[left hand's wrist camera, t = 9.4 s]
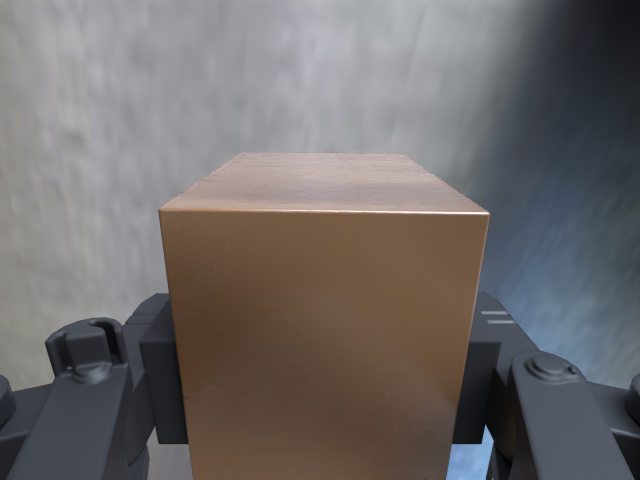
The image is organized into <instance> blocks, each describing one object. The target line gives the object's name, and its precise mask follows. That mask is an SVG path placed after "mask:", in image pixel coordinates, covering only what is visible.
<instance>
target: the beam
mask: <svg viewBox="0 0 640 480" xmlns="http://www.w3.org/2000/svg"><path fill="white" fill-rule="evenodd" d="M158 212H159V220H160V227H161V235H162V243H163V250H164V258H165V266H166V273H167V281H168V289H169V296H170V304H171V312H172V319H173V327H174V335H175V342H176V350H177V358H178V365H179V373H180V381H181V388H182V396H183V404H184V411H185V419H186V427H187V434H188V442H189V450H190V457H191V465H192V473H193V480H446V475H447V469H448V463H449V457H450V452H451V446H452V440H453V434H454V428H455V422H456V416H457V410H458V404H459V398H460V392H461V386H462V380H463V374H464V368H465V362H466V356H467V350H468V344H469V338H470V332H471V326H472V320H473V314H474V308H475V302H476V296H477V290H478V284H479V278H480V272H481V266H482V260H483V254H484V248H485V243H486V237H487V231H488V225H489V219H490V213H489V212H488V211H487V210H485V209H484V208H482V207H481V206H479V205H478V204H476V203H475V202H473V201H472V200H470V199H469V198H467V197H466V196H464V195H463V194H461V193H460V192H458V191H457V190H455V189H454V188H452V187H451V186H449V185H448V184H446V183H445V182H444V181H442V180H441V179H439V178H438V177H436V176H435V175H433V174H432V173H430V172H429V171H427V170H426V169H424V168H423V167H421V166H420V165H418V164H417V163H415V162H414V161H412V160H411V159H409V158H408V157H406V156H405V155H403V154H351V153H281V152H241V153H239V154H238V155H236V156H235V157H233V158H232V159H230V160H229V161H227V162H226V163H224V164H223V165H221V166H220V167H219V168H217V169H216V170H214V171H213V172H211V173H210V174H208V175H207V176H205V177H204V178H202V179H201V180H199V181H198V182H196V183H195V184H194V185H192V186H191V187H189V188H188V189H186V190H185V191H183V192H182V193H180V194H179V195H177V196H176V197H174V198H173V199H171V200H170V201H169V202H167V203H166V204H164V205H163V206H161V207H160V208H159V210H158Z"/></svg>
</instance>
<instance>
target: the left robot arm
mask: <svg viewBox="0 0 640 480" xmlns="http://www.w3.org/2000/svg"><path fill="white" fill-rule="evenodd" d="M45 346H46V349H47V352H48V355H49V359H50V362H51V365H52V369H53V372H54V375H55V379H54V381H53V383H51V384H47V385H43V386H38V387H33V388H29V389H24V390H19V391H14V392H12V389H11V387H10V384H9V381H8V379H6V378H5V377H4V376H2V375H0V480H147V475H148V467H149V453H148V447H147V441H148V439H149V437H150V435H151V433H152V430H153V428H154V426H155V427H156V432H157V437H158V442H159V444H189V442H188V434H187V427H186V419H185V411H184V404H183V396H182V388H181V381H180V373H179V365H178V358H177V350H176V342H175V335H174V327H173V319H172V312H171V304H170V296H169V293H156V294H155V295H153V296H152V297H150V298H148V299H147V300H145V301H144V302H142V303H141V304H140V305H139V307H138V308H137V309H136V310H135V311H134V313H133V316H130V317H129V319H128V320H127V321H126V322H125V325H123V326H122V327H121V324H120V323H119V322H118V321H116V320H115V319H110V318H105V317H103V318H90V319H85V320H81V321H77V322H74V323H72V324H69V325H67V326H64V327H62V328H61V329H59V330H58V331H56V332H54V333H53V334H51V336H50V337H49V338H48V339H47V340H46V341H45ZM485 424H486V426H487V428H488V430H489V432H490V434H491V436H492V438H493V440H494V443H493V447H492V452H491V457H490V461H489V466H488V471H487V475H486V480H492V478H493V480H640V373H639V374H638V375H636V376H635V377H634V378H633V379H632V382H631V385H630V388H629V390H625V389H620V388H615V387H610V386H606V385H601V384H596V383H592V382H588V381H587V380H586V378H585V377H584V375H583V374H582V373H581V371H580V370H579V369H578V368H577V367H576V366H574V365H573V364H571V363H570V362H569V361H567V360H565V359H563V358H561V357H559V356H556V355H554V354H551V353H547V352H543V351H540V350H539V349H538V348H537V346H536V345H535V344H534V343H533V342H532V340H531V339H530V338H529V337H528V336H527V334H526V333H525V332H524V331H523V330H522V329H521V327H520V326H519V325H518V324H517V323H515V320H514V319H513V318H512V317H511V315H510V314H508V312H507V311H506V309H505V308H504V307H503V306H502V305H501V303H500V302H499V301H497V300H496V299H494V298H493V297H491V296H489V295H488V294H486V293H484V292H477V296H476V302H475V308H474V314H473V320H472V326H471V332H470V338H469V344H468V350H467V356H466V362H465V368H464V374H463V380H462V386H461V392H460V398H459V404H458V410H457V416H456V422H455V428H454V434H453V440H452V444H482V439H483V434H484V429H485Z"/></svg>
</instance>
